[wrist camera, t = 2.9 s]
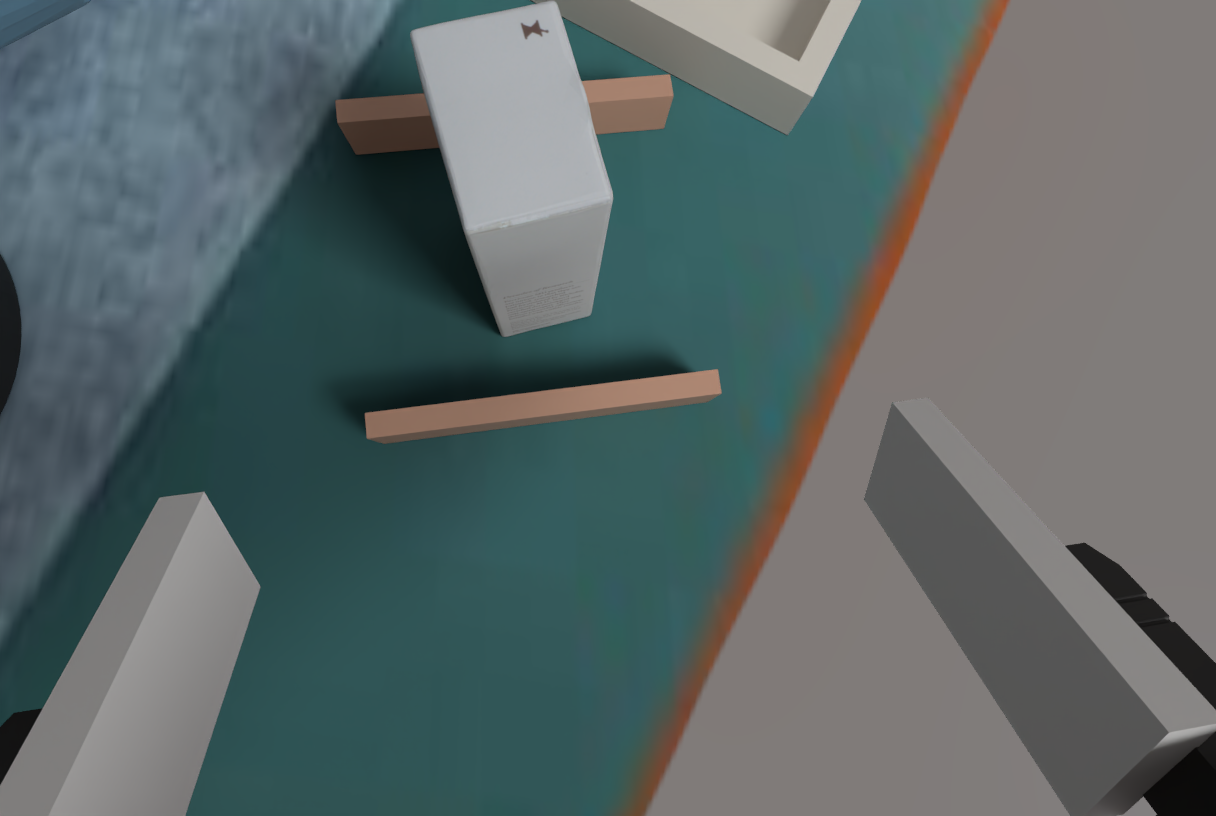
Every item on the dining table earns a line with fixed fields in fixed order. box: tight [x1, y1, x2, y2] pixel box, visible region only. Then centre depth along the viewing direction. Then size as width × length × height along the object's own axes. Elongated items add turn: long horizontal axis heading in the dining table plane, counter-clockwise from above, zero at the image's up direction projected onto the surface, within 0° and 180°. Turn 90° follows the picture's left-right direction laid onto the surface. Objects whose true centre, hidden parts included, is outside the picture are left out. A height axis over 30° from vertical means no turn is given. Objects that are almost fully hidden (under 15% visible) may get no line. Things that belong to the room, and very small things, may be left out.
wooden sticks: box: [335, 74, 721, 444], centre depth 27 cm, size 14×14×2 cm
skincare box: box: [410, 0, 613, 337], centre depth 23 cm, size 6×4×12 cm
